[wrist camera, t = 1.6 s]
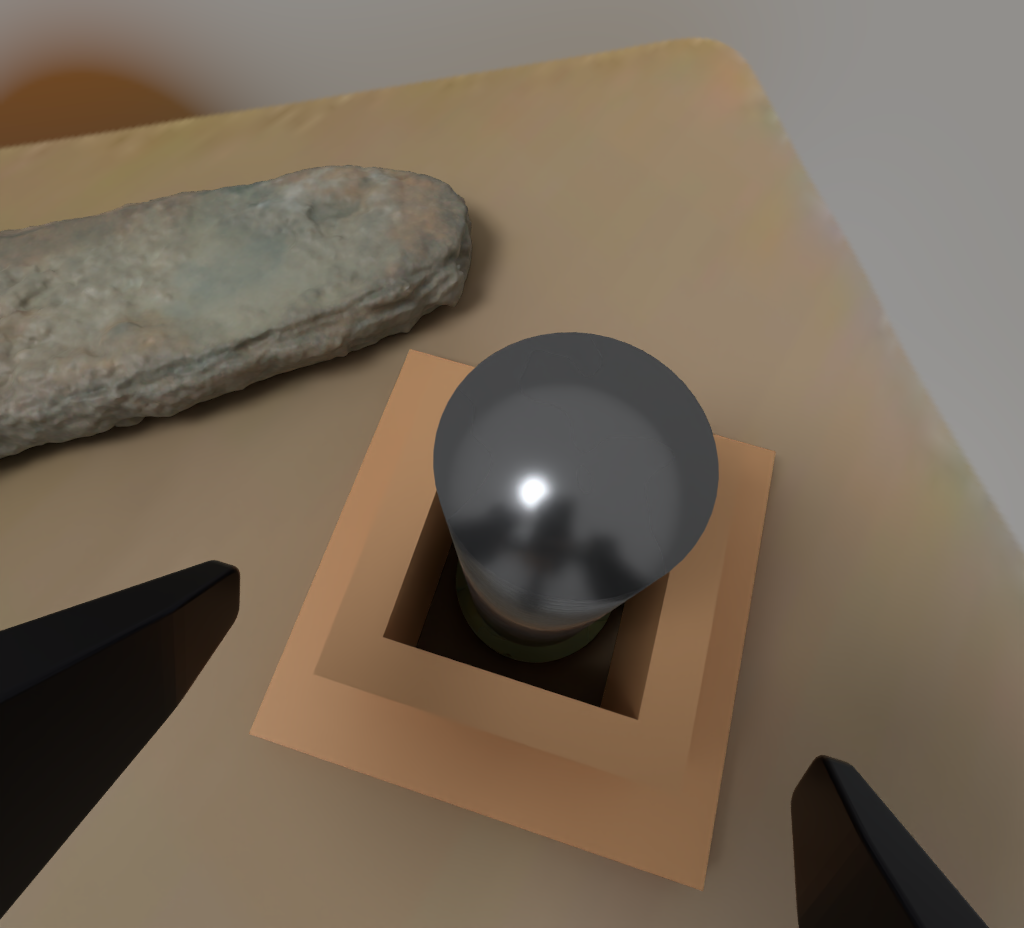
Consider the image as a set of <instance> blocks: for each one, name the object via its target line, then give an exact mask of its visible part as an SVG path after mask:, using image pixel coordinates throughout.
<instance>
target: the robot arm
mask: <svg viewBox="0 0 1024 928" xmlns="http://www.w3.org/2000/svg"><path fill="white" fill-rule="evenodd" d="M239 602H240V572H239V570H238V568H237V567H235V566H233V565H229V564H226V563H223V562H220V561H216V560H211V561H207V562H204V563H201V564H198V565H195V566H192V567H189V568H186V569H183V570H180V571H177V572H174V573H171V574H168V575H165V576H163V577H160V578H157V579H154V580H151V581H148V582H145V583H142V584H139V585H136V586H133V587H130V588H127V589H124V590H121V591H118V592H115V593H112V594H109V595H106V596H103V597H100V598H97V599H94V600H91V601H88V602H85V603H82V604H79V605H76V606H73V607H70V608H67V609H64V610H61V611H58V612H55V613H53V614H50V615H47V616H44V617H41V618H38V619H35V620H32V621H29V622H26V623H23V624H20V625H17V626H14V627H11V628H8V629H5V630H2V631H0V919H1V918H2V917H3V916H4V914H5V913H6V912H7V911H8V910H9V908H10V907H11V906H12V905H13V904H14V902H15V901H16V900H17V899H18V898H19V896H20V895H21V894H22V893H23V891H24V890H25V889H26V888H27V887H28V885H29V884H30V883H31V882H32V881H33V879H34V878H35V877H36V876H37V875H38V873H39V872H40V871H41V870H42V869H43V867H44V866H45V865H46V864H47V863H48V861H49V860H50V859H51V858H52V857H53V855H54V854H55V853H56V852H57V851H58V849H59V848H60V847H61V846H62V845H63V843H64V842H65V841H66V840H67V839H68V837H69V836H70V835H71V834H72V833H73V831H74V830H75V829H76V828H77V827H78V825H79V824H80V823H81V822H82V821H83V819H84V818H85V817H86V816H87V815H88V813H89V812H90V811H91V810H92V809H93V807H94V806H95V805H96V804H97V803H98V801H99V800H100V799H101V798H102V797H103V795H104V794H105V793H106V792H107V791H108V789H109V788H110V787H111V786H112V785H113V783H114V782H115V781H116V780H117V779H118V777H119V776H120V775H121V774H122V773H123V771H124V770H125V769H126V768H127V767H128V765H129V764H130V763H131V762H132V761H133V759H134V758H135V757H136V756H137V755H138V753H139V752H140V751H141V750H142V749H143V747H144V746H145V745H146V744H147V743H148V741H149V740H150V739H151V738H152V737H153V735H154V734H155V733H156V732H157V731H158V729H159V728H160V727H161V726H162V725H163V723H164V722H165V721H166V720H167V718H168V717H169V716H170V715H171V713H172V712H173V711H174V710H175V708H176V707H177V706H178V704H179V703H180V702H181V700H182V699H183V697H184V696H185V694H186V693H187V692H188V690H189V689H190V687H191V686H192V684H193V683H194V681H195V680H196V678H197V677H198V675H199V674H200V672H201V671H202V669H203V668H204V666H205V665H206V663H207V662H208V660H209V659H210V658H211V656H212V655H213V653H214V652H215V650H216V649H217V647H218V646H219V644H220V643H221V641H222V640H223V638H224V637H225V635H226V634H227V632H228V631H229V629H230V628H231V626H232V625H233V623H234V622H235V620H236V618H237V615H238V612H239ZM791 816H792V833H793V850H794V868H795V885H796V902H797V914H798V924H799V928H989V927H988V926H987V925H986V924H985V922H984V921H983V920H982V919H981V918H980V917H979V915H978V914H977V913H976V912H975V911H974V909H973V908H972V907H971V906H970V905H969V903H968V902H967V901H966V900H965V899H964V898H963V896H962V895H961V894H960V893H959V892H958V890H957V889H956V888H955V887H954V886H953V884H952V883H951V882H950V881H949V880H948V879H947V877H946V876H945V875H944V874H943V873H942V871H941V870H940V869H939V868H938V867H937V865H936V864H935V863H934V862H933V861H932V860H931V858H930V857H929V856H928V855H927V854H926V852H925V851H924V850H923V849H922V848H921V846H920V845H919V844H918V843H917V842H916V841H915V839H914V838H913V837H912V836H911V835H910V833H909V832H908V831H907V830H906V829H905V827H904V826H903V825H902V824H901V823H900V822H899V820H898V819H897V818H896V817H895V816H894V814H893V813H892V812H891V811H890V810H889V808H888V807H887V806H886V805H885V804H884V803H883V801H882V800H881V799H880V798H879V797H878V795H877V794H876V793H875V792H874V791H873V789H872V788H871V787H870V786H869V785H868V784H867V782H866V781H865V780H864V779H863V778H862V776H861V775H860V774H859V773H858V772H857V770H856V769H855V768H854V767H853V766H852V765H850V764H849V763H847V762H844V761H841V760H838V759H835V758H832V757H829V756H825V755H820V756H818V757H816V758H815V759H814V761H813V762H812V764H811V765H810V767H809V768H808V770H807V771H806V773H805V774H804V776H803V777H802V779H801V780H800V782H799V783H798V785H797V786H796V788H795V790H794V792H793V795H792V800H791Z"/></svg>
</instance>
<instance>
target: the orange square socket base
mask: <svg viewBox="0 0 1024 928" xmlns="http://www.w3.org/2000/svg"><path fill="white" fill-rule="evenodd" d="M474 368H475V367H472V366H469V365H465V364H461V363H458V362H454V361H451V360H447V359H444V358H440V357H437V356H433V355H429V354H426V353H422V352H419V351H415V350H412V349H410V350H409V353H408V355H407V357H406V360H405V362H404V365H403V367H402V369H401V372H400V374H399V377H398V379H397V381H396V384H395V386H394V389H393V391H392V393H391V396H390V398H389V400H388V403H387V405H386V408H385V410H384V412H383V415H382V417H381V420H380V422H379V424H378V427H377V429H376V431H375V434H374V436H373V439H372V441H371V443H370V446H369V448H368V451H367V453H366V455H365V458H364V460H363V463H362V465H361V467H360V470H359V472H358V474H357V477H356V479H355V482H354V484H353V486H352V489H351V491H350V494H349V496H348V498H347V501H346V503H345V506H344V508H343V510H342V513H341V515H340V517H339V520H338V522H337V525H336V527H335V529H334V532H333V534H332V537H331V539H330V541H329V544H328V546H327V549H326V551H325V553H324V556H323V558H322V560H321V563H320V565H319V568H318V570H317V572H316V575H315V577H314V580H313V582H312V584H311V587H310V589H309V591H308V594H307V596H306V599H305V601H304V603H303V606H302V608H301V611H300V613H299V615H298V618H297V620H296V623H295V625H294V627H293V630H292V632H291V634H290V637H289V639H288V642H287V644H286V646H285V649H284V651H283V654H282V656H281V658H280V661H279V663H278V666H277V668H276V670H275V673H274V675H273V677H272V680H271V682H270V685H269V687H268V689H267V692H266V694H265V697H264V699H263V701H262V704H261V706H260V709H259V711H258V713H257V716H256V718H255V720H254V723H253V725H252V728H251V730H250V732H249V734H251V735H254V736H256V737H259V738H262V739H265V740H268V741H271V742H274V743H277V744H280V745H282V746H285V747H288V748H291V749H294V750H297V751H300V752H303V753H305V754H308V755H311V756H314V757H317V758H320V759H323V760H326V761H329V762H331V763H334V764H337V765H340V766H343V767H346V768H349V769H352V770H355V771H357V772H360V773H363V774H366V775H369V776H372V777H375V778H378V779H381V780H383V781H386V782H389V783H392V784H395V785H398V786H401V787H404V788H407V789H409V790H412V791H415V792H418V793H421V794H424V795H427V796H430V797H432V798H435V799H438V800H441V801H444V802H447V803H450V804H453V805H456V806H458V807H461V808H464V809H467V810H470V811H473V812H476V813H479V814H482V815H484V816H487V817H490V818H493V819H496V820H499V821H502V822H505V823H508V824H510V825H513V826H516V827H519V828H522V829H525V830H528V831H531V832H533V833H536V834H539V835H542V836H545V837H548V838H551V839H554V840H557V841H559V842H562V843H565V844H568V845H571V846H574V847H577V848H580V849H583V850H585V851H588V852H591V853H594V854H597V855H600V856H603V857H606V858H609V859H611V860H614V861H617V862H620V863H623V864H626V865H629V866H632V867H635V868H637V869H640V870H643V871H646V872H649V873H652V874H655V875H658V876H660V877H663V878H666V879H669V880H672V881H675V882H678V883H681V884H684V885H686V886H689V887H692V888H695V889H698V890H701V891H703V888H704V882H705V876H706V870H707V864H708V858H709V852H710V846H711V840H712V834H713V828H714V822H715V816H716V810H717V804H718V798H719V792H720V785H721V779H722V773H723V767H724V761H725V755H726V749H727V743H728V737H729V731H730V725H731V719H732V713H733V707H734V701H735V695H736V689H737V683H738V677H739V671H740V665H741V659H742V652H743V646H744V640H745V634H746V628H747V622H748V616H749V610H750V604H751V598H752V592H753V586H754V580H755V574H756V568H757V562H758V556H759V550H760V544H761V538H762V532H763V525H764V519H765V513H766V507H767V501H768V495H769V489H770V483H771V477H772V471H773V465H774V459H775V453H776V452H775V451H772V450H768V449H764V448H761V447H757V446H754V445H750V444H747V443H743V442H739V441H736V440H732V439H729V438H725V437H722V436H718V435H714V434H713V436H714V440H715V443H716V449H717V455H718V463H719V481H718V489H717V497H716V500H715V504H714V508H713V511H712V514H711V517H710V519H709V521H708V524H707V526H706V528H705V530H704V532H703V534H702V535H701V537H700V538H699V540H698V542H697V543H696V545H695V546H694V547H693V549H692V550H691V551H690V552H689V553H688V554H687V556H686V557H685V558H684V559H683V560H682V561H681V562H680V563H679V564H678V565H676V566H675V567H674V568H673V569H672V570H671V571H670V572H668V573H667V574H665V575H664V576H662V577H661V578H659V579H658V580H656V581H655V582H653V583H652V584H651V585H649V586H648V587H646V588H645V589H643V590H642V591H640V592H639V593H637V594H636V595H634V596H633V597H631V598H630V599H628V600H627V601H625V605H624V609H623V614H622V618H621V622H620V626H619V631H618V635H617V639H616V643H615V647H614V652H613V656H612V660H611V664H610V669H609V673H608V677H607V681H606V686H605V690H604V694H603V698H602V702H601V707H600V708H599V707H596V706H593V705H590V704H587V703H584V702H581V701H578V700H575V699H572V698H569V697H565V696H562V695H559V694H556V693H553V692H550V691H547V690H544V689H541V688H538V687H535V686H532V685H529V684H525V683H522V682H519V681H516V680H513V679H510V678H507V677H504V676H501V675H498V674H495V673H492V672H489V671H485V670H482V669H479V668H476V667H473V666H470V665H467V664H464V663H461V662H458V661H455V660H452V659H449V658H445V657H442V656H439V655H436V654H433V653H430V652H427V651H424V650H421V649H418V648H416V645H417V642H418V640H419V637H420V634H421V631H422V628H423V625H424V622H425V619H426V616H427V614H428V611H429V608H430V605H431V602H432V599H433V596H434V593H435V590H436V588H437V585H438V582H439V579H440V576H441V573H442V570H443V567H444V565H445V562H446V559H447V556H448V553H449V550H450V547H451V544H452V541H453V540H452V537H451V534H450V531H449V528H448V525H447V522H446V519H445V516H444V513H443V510H442V507H441V504H440V501H439V497H438V493H437V490H436V486H435V478H434V470H433V450H434V443H435V437H436V432H437V428H438V425H439V422H440V418H441V416H442V414H443V411H444V409H445V407H446V405H447V403H448V401H449V399H450V398H451V396H452V394H453V393H454V391H455V390H456V388H457V387H458V386H459V384H460V383H461V382H462V381H463V380H464V378H465V377H466V376H467V375H468V374H469V373H470V372H471V371H472V370H473V369H474Z"/></svg>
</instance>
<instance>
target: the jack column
mask: <svg viewBox="0 0 1024 928" xmlns="http://www.w3.org/2000/svg"><path fill="white" fill-rule="evenodd" d="M433 470H434V478H435V486H436V490H437V493H438V497H439V501H440V504H441V507H442V510H443V513H444V516H445V519H446V522H447V525H448V528H449V531H450V534H451V537H452V540H453V543H454V546H455V549H456V552H457V555H458V558H459V559H458V563H457V570H456V590H457V596H458V600H459V604H460V607H461V609H462V612H463V614H464V616H465V618H466V620H467V622H468V624H469V625H470V627H471V629H472V630H473V631H474V632H475V634H476V635H477V636H478V637H479V638H480V639H481V640H482V641H483V642H484V643H485V644H486V645H487V646H489V647H490V648H491V649H493V650H494V651H496V652H498V653H500V654H501V655H503V656H506V657H508V658H511V659H514V660H518V661H522V662H531V663H539V662H549V661H554V660H557V659H560V658H564V657H566V656H568V655H570V654H572V653H574V652H576V651H578V650H579V649H581V648H582V647H584V646H585V645H587V644H588V643H589V642H590V641H591V640H592V639H593V638H594V637H595V636H596V635H597V634H598V633H599V631H600V630H601V629H602V627H603V626H604V624H605V623H606V621H607V619H608V617H609V615H610V612H611V611H612V610H613V609H615V608H616V607H618V606H619V605H621V604H622V603H624V602H625V601H627V600H628V599H630V598H631V597H633V596H634V595H636V594H637V593H639V592H640V591H642V590H643V589H645V588H646V587H648V586H649V585H651V584H652V583H653V582H655V581H656V580H658V579H659V578H661V577H662V576H664V575H665V574H667V573H668V572H670V571H671V570H672V569H673V568H674V567H675V566H676V565H678V564H679V563H680V562H681V561H682V560H683V559H684V558H685V557H686V556H687V554H688V553H689V552H690V551H691V550H692V549H693V547H694V546H695V545H696V543H697V542H698V540H699V538H700V537H701V535H702V534H703V532H704V530H705V528H706V526H707V524H708V521H709V519H710V517H711V514H712V511H713V508H714V504H715V500H716V497H717V489H718V481H719V463H718V455H717V449H716V443H715V440H714V436H713V433H712V430H711V427H710V424H709V422H708V420H707V418H706V415H705V413H704V411H703V409H702V408H701V406H700V404H699V403H698V401H697V400H696V398H695V396H694V395H693V394H692V393H691V391H690V390H689V389H688V387H687V386H686V385H685V384H684V382H683V381H682V380H680V379H679V378H678V377H677V376H676V375H675V374H674V373H673V372H672V371H671V370H670V369H669V368H668V367H666V366H665V365H664V364H662V363H661V362H660V361H659V360H657V359H656V358H654V357H652V356H651V355H649V354H647V353H646V352H644V351H643V350H640V349H638V348H636V347H634V346H632V345H630V344H627V343H625V342H622V341H619V340H616V339H613V338H609V337H605V336H600V335H595V334H587V333H577V332H571V333H553V334H545V335H540V336H536V337H532V338H528V339H524V340H522V341H519V342H516V343H514V344H511V345H509V346H507V347H505V348H503V349H501V350H499V351H497V352H496V353H494V354H492V355H491V356H490V357H488V358H487V359H485V360H484V361H482V362H481V363H480V364H479V365H478V366H476V367H475V368H474V369H473V370H472V371H471V372H470V373H469V374H468V375H467V376H466V377H465V378H464V380H463V381H462V382H461V383H460V384H459V386H458V387H457V388H456V390H455V391H454V393H453V394H452V396H451V398H450V399H449V401H448V403H447V405H446V407H445V409H444V411H443V414H442V416H441V418H440V422H439V425H438V428H437V432H436V437H435V443H434V450H433Z"/></svg>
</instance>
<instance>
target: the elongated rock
mask: <svg viewBox="0 0 1024 928" xmlns="http://www.w3.org/2000/svg"><path fill="white" fill-rule="evenodd" d="M470 231H471V221H470V219H469V215H468V209H467V206H466V205H465V200H464V199H463V198H462V197H460V196H459V195H457V194H456V193H455V192H454V191H453V189H452V188H451V187H450V186H449V185H448V184H447V183H445V182H442V181H441V180H438V179H436V178H433V177H430V176H428V175H425V174H417V173H414V172H410V171H408V172H407V171H397V170H392V169H383V168H377V167H368V168H363V167H360V166H353V165H346V166H325V167H316V168H310V169H304V170H301V171H297V172H294V173H291V174H285V175H283V176H280V177H278V178H276V179H271V180H268V181H261V182H256V183H253V184H250V185H238V186H232V187H224V188H220V189H216V190H203V191H197V192H194V191H191V192H181V193H178V194H175V195H172V196H168V197H162V198H157V199H155V200H150V201H149V202H142V203H134V204H133V203H129V204H125V205H123V206H122V207H120V208H117V209H114V210H112V211H109V212H105V213H101V214H99V215H95V216H88V217H84V218H75V219H69V220H63V221H55V222H51V223H48V224H44V225H39V226H30V227H27V228H24V229H17V230H4V231H1V232H0V459H1V458H3V457H6V456H8V455H15V454H18V453H20V452H22V451H24V450H26V449H28V448H30V447H34V446H37V445H43V444H45V443H49V442H52V443H61V442H66V441H69V440H72V439H75V438H80V437H88V436H93V435H95V434H98V433H102V432H105V431H107V430H109V429H111V428H112V427H113V426H117V427H120V426H121V427H123V426H132V425H136V424H138V423H140V422H141V421H142V420H143V418H144V417H147V416H154V417H170V416H173V415H175V414H177V413H178V412H180V411H183V410H185V409H188V408H190V407H192V406H193V405H195V404H196V403H198V402H204V401H208V400H211V399H213V398H216V397H218V396H221V395H223V394H226V393H230V392H233V391H237V390H242V389H244V388H245V387H246V386H248V385H250V384H252V383H255V382H257V381H261V380H265V379H267V378H270V377H272V376H274V375H277V374H281V373H284V372H288V371H292V370H294V369H298V368H300V367H305V366H309V365H314V364H316V363H319V362H323V361H325V360H331V359H333V358H335V357H345V356H346V355H347V354H348V353H349V352H350V351H355V350H359V349H361V348H363V347H366V346H368V345H372V344H375V343H377V342H378V341H379V340H380V339H382V338H384V337H386V336H389V335H393V334H397V333H399V332H403V333H408V332H409V331H410V330H411V328H412V327H413V326H414V325H415V324H416V323H417V322H418V320H419V319H420V318H421V317H422V315H424V314H428V313H430V312H432V311H433V310H434V309H436V308H437V307H439V306H441V305H448V306H451V307H454V306H456V304H457V302H458V300H459V298H460V297H461V295H462V292H463V288H464V282H465V281H466V278H467V275H468V270H469V268H470V262H471V253H472V241H471V238H470Z"/></svg>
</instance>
